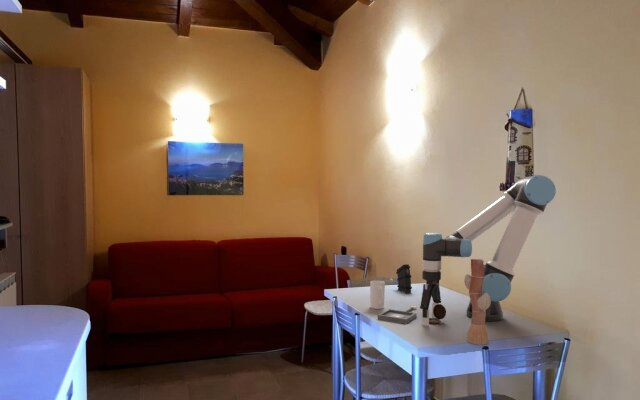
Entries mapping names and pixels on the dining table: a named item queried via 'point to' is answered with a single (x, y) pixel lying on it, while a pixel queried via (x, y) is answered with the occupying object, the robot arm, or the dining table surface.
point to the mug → (377, 294)
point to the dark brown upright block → (404, 278)
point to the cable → (411, 308)
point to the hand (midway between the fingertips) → (430, 321)
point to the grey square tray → (397, 316)
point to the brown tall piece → (477, 303)
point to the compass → (438, 314)
